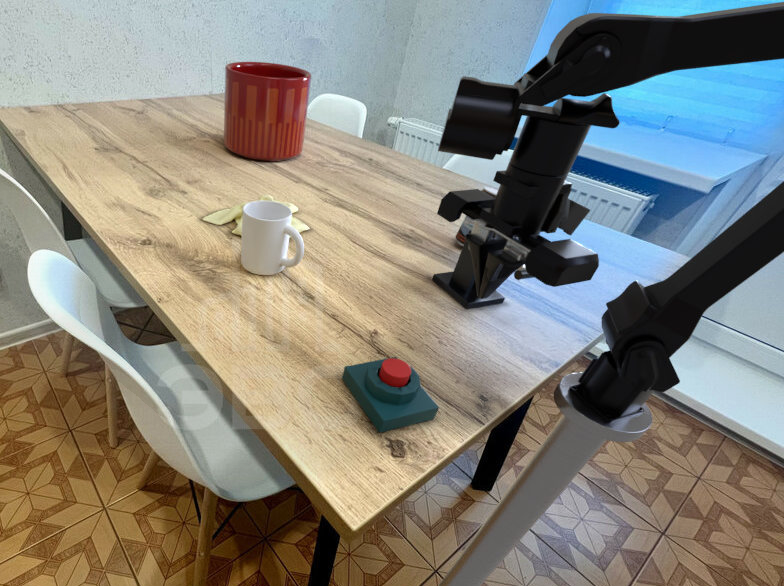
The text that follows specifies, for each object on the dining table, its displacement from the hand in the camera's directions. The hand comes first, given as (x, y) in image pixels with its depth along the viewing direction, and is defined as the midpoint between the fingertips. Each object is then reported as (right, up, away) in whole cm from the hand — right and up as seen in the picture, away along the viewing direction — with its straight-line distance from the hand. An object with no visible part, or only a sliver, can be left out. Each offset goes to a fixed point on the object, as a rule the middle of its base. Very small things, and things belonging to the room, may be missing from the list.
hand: (482, 297), depth 58 cm
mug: (-26, +9, +26) cm, 38 cm away
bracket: (+9, +5, +26) cm, 28 cm away
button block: (-11, -13, +3) cm, 17 cm away
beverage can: (+16, +17, +40) cm, 46 cm away
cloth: (-29, +22, +40) cm, 54 cm away
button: (-11, -10, 0) cm, 15 cm away
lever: (+11, +8, +17) cm, 22 cm away
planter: (-29, +55, +78) cm, 100 cm away
